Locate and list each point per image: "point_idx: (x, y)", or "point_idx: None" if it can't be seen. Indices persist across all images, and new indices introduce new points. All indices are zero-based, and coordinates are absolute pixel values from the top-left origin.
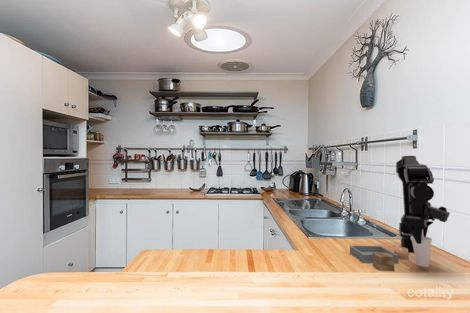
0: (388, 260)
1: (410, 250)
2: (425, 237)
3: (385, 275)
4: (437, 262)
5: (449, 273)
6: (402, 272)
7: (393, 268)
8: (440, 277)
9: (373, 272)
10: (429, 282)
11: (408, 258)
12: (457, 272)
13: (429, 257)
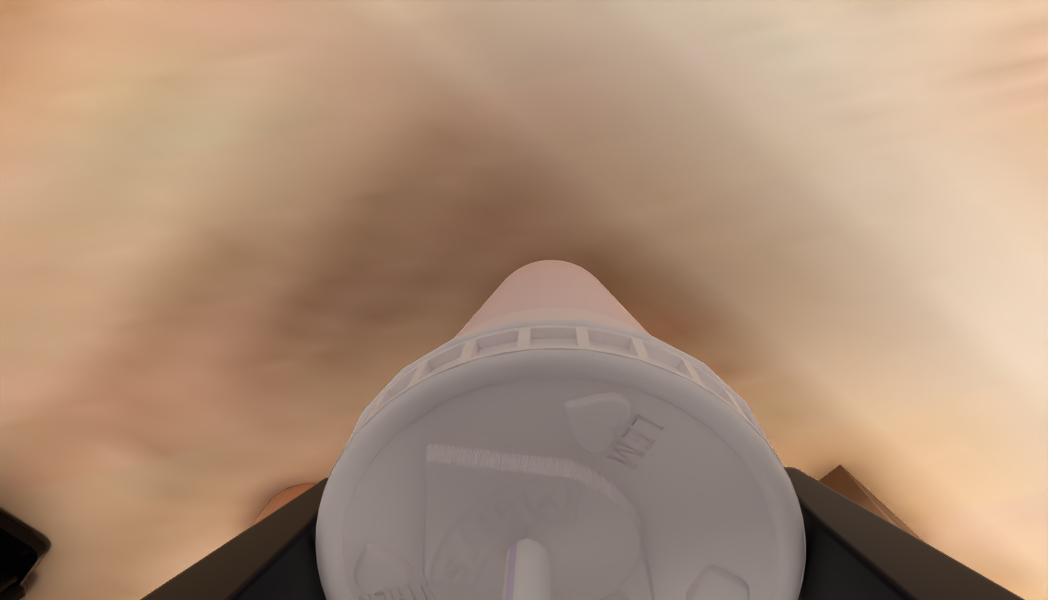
0: None
1: (1, 546)
2: (491, 506)
3: (1039, 478)
4: (157, 259)
5: (485, 69)
6: (831, 406)
7: (857, 485)
8: (721, 107)
9: (1018, 565)
10: (989, 148)
11: (301, 487)
12: (365, 10)
13: (562, 275)
